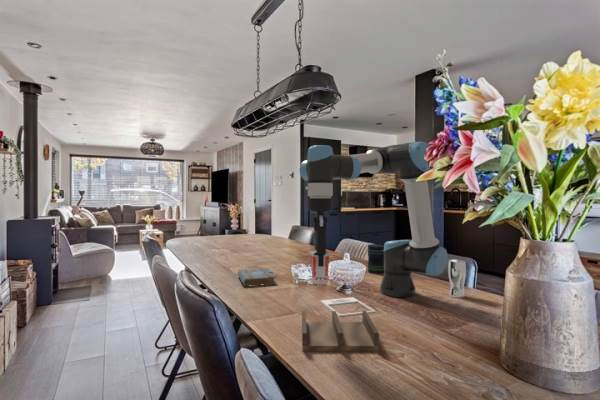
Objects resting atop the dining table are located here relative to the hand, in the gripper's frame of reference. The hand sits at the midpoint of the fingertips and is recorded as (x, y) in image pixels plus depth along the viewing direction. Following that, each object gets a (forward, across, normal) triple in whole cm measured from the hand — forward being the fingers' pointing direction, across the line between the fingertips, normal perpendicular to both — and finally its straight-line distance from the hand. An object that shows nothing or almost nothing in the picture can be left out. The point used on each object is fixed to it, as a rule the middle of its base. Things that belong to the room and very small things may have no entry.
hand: (319, 274), depth 103 cm
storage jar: (+19, -89, +37) cm, 98 cm away
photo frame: (+20, -29, +12) cm, 37 cm away
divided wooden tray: (+19, 0, +5) cm, 20 cm away
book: (+20, -71, -28) cm, 79 cm away
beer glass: (+19, -43, +61) cm, 77 cm away
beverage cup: (+3, 0, 0) cm, 3 cm away
